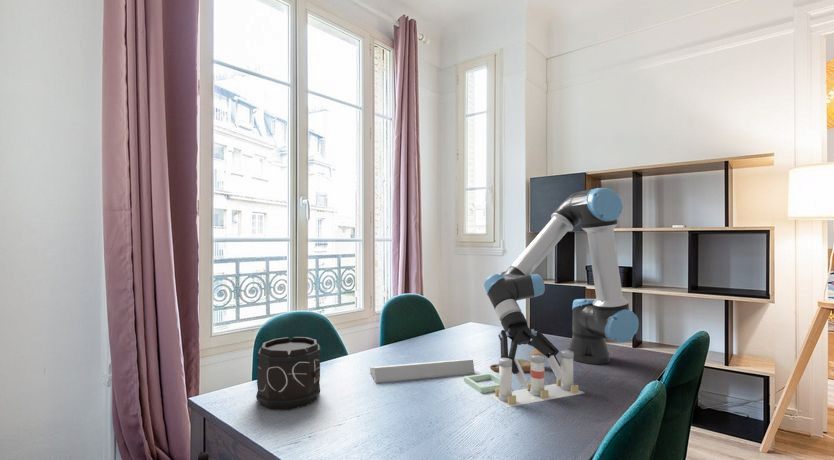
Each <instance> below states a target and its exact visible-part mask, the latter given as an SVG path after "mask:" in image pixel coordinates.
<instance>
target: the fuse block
mask: <svg viewBox="0 0 834 460" xmlns="http://www.w3.org/2000/svg"><path fill="white" fill-rule="evenodd" d="M555 382H556V383H552V384H546V385H545V384H544V389H545V390H543V391H540V397H538V396H533V395H531V394H530V387H531V382H529V383H528V382H527V383H526V388H521V389H516V390H512V396H508V402H503V401H500V400H499V388H496V389H495V391H494V393H492V394H489V396H490V397H491V398H492V399H494V400H496V401H497V402H499V403H500V404H502V405H503V406H505V407H506V408H511V407H516V406H522V405H527V404H534V403H537V402H538V403H539V402H543V401H549V400H550V401H551V400H555V399H560V398H566V397H572V396H577V395H582V394H585V392H584V391H582V390H579V385H578V384H574V385H572V386H571V391H565V390H562V389H561V380H557V378H556V381H555Z"/></svg>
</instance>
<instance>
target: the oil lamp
mask: <svg viewBox="0 0 834 460" xmlns="http://www.w3.org/2000/svg"><path fill="white" fill-rule="evenodd" d="M531 354H542V353H541V352H539V351H538V350H537V349H535V348H534V349H533V350H531V351H530V352H529V354H528V355H529V356H530V355H531ZM542 355H544V354H542ZM544 356H545V355H544ZM515 360H518V362H519V364H520V366H521V368H522V370H523V373H526V372H530V369H531V361H530V359H521V358H515V359H514V361H515ZM489 369H490V370H491V371H492V372H494V373H499V363H497V364H491V365H490V366H489Z"/></svg>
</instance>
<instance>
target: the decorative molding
mask: <svg viewBox="0 0 834 460" xmlns="http://www.w3.org/2000/svg"><path fill="white" fill-rule="evenodd" d="M369 371H370V375H371V377H372V378H373V380H374V383H376V384H380V383H390V382H400V381H410V380H412V381H413V380H419V379H420V380H422V379H432V378H443V377H445V378H446V377H453V376H454V377H455V376H462V375H475V365H474V359H452V360H441V361H428V362H417V363H414V362H413V363H407V364H405V363H404V364H393V365H392V364H391V365H383V366H382V365H378V366H370V367H369Z"/></svg>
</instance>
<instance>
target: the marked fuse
mask: <svg viewBox="0 0 834 460" xmlns="http://www.w3.org/2000/svg"><path fill="white" fill-rule="evenodd" d="M529 356H530V357H529V358H530V359H529V360H530V361H531V369H530V371H529V372H530V375H529V376H530V383H531V387H530V394H531V395H533V396H538V397H540V391H543V390H545V389H544V386H545V372H546V371H545V361H546V360H545V359H546V356H545V355H542V354H531V355H529Z"/></svg>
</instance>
